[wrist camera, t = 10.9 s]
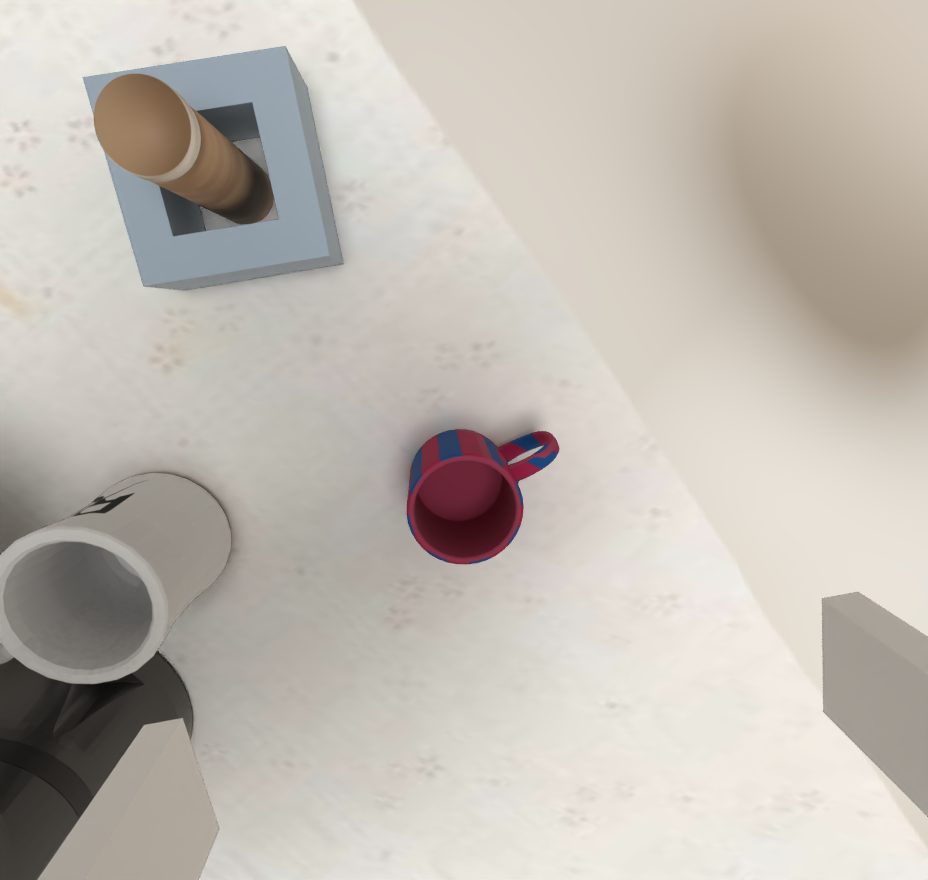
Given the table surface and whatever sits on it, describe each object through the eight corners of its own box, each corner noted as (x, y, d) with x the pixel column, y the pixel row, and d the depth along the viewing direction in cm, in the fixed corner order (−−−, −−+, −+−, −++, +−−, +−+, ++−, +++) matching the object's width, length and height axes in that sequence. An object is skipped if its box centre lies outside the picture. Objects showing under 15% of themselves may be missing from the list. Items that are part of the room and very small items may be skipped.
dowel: (220, 229, 33) (109, 183, 22) (204, 164, 32) (79, 80, 21) (280, 220, 33) (202, 169, 22) (266, 154, 33) (176, 65, 21)
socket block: (184, 290, 34) (143, 286, 29) (135, 113, 32) (82, 77, 27) (343, 263, 34) (329, 255, 29) (306, 87, 32) (285, 45, 27)
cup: (393, 455, 37) (386, 485, 31) (526, 391, 37) (548, 408, 30) (436, 537, 39) (438, 582, 32) (564, 476, 38) (593, 510, 32)
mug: (177, 443, 36) (85, 490, 26) (262, 549, 38) (206, 629, 28) (29, 541, 37) (-113, 623, 27) (120, 640, 39) (18, 748, 29)
